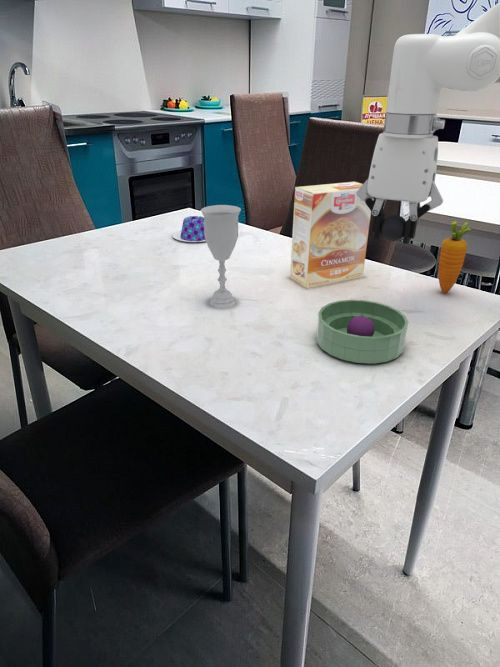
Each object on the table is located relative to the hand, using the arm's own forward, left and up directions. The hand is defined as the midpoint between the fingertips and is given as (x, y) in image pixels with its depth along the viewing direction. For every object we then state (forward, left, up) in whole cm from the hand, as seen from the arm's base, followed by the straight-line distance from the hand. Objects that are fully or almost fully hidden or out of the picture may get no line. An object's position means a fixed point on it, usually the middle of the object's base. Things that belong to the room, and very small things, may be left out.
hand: (392, 238), depth 87 cm
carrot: (-18, 0, -15) cm, 23 cm away
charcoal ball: (0, 0, 0) cm, 0 cm away
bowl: (+12, +7, -14) cm, 20 cm away
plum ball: (+12, +7, -14) cm, 20 cm away
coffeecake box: (-3, -19, -15) cm, 24 cm away
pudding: (+8, -60, -14) cm, 62 cm away
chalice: (+23, -19, -14) cm, 33 cm away
